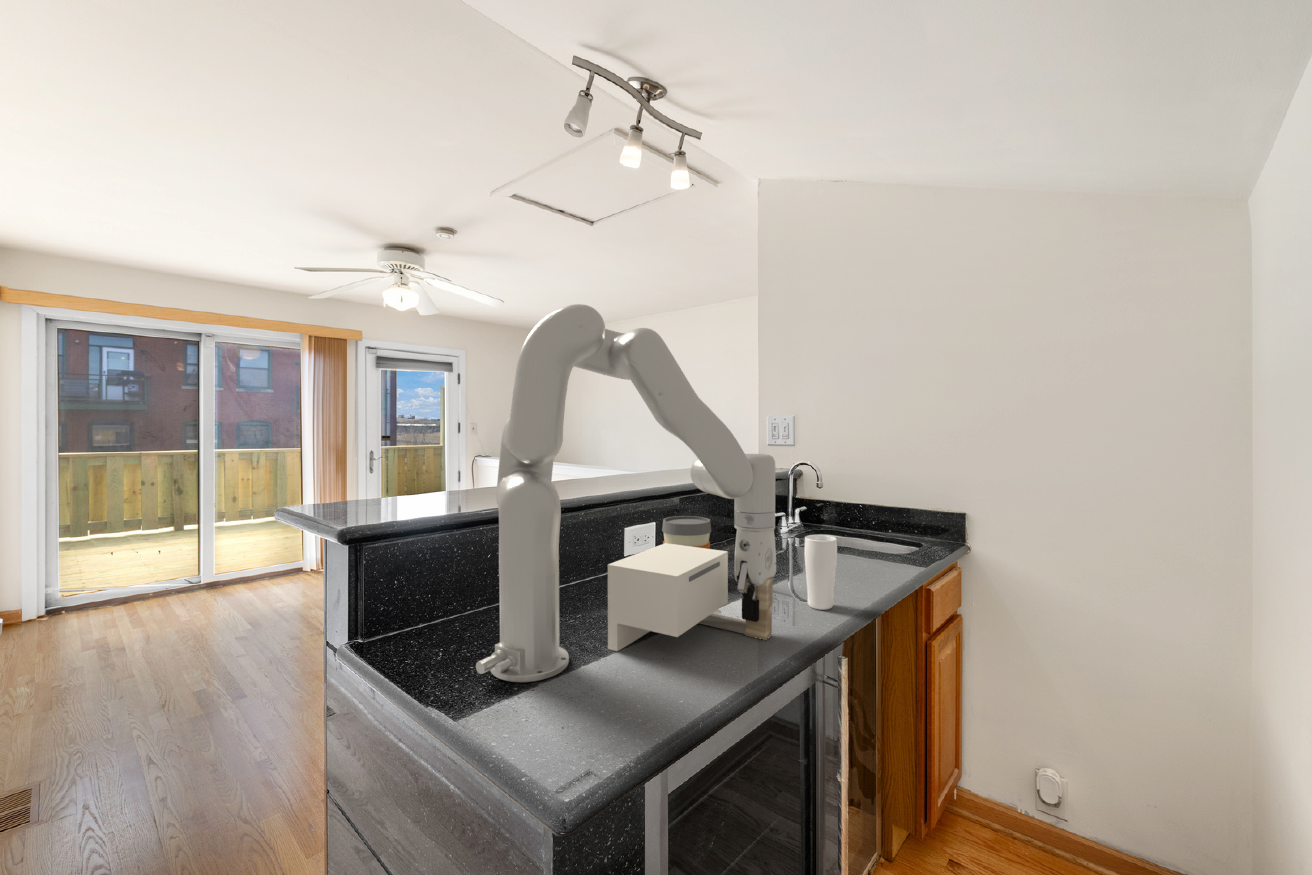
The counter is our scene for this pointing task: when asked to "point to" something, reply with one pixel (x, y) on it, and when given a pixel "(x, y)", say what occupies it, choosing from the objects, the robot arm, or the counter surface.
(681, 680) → the counter surface
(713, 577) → the cabinet
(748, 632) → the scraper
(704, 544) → the reusable coffee cup
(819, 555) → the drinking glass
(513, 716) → the counter surface
